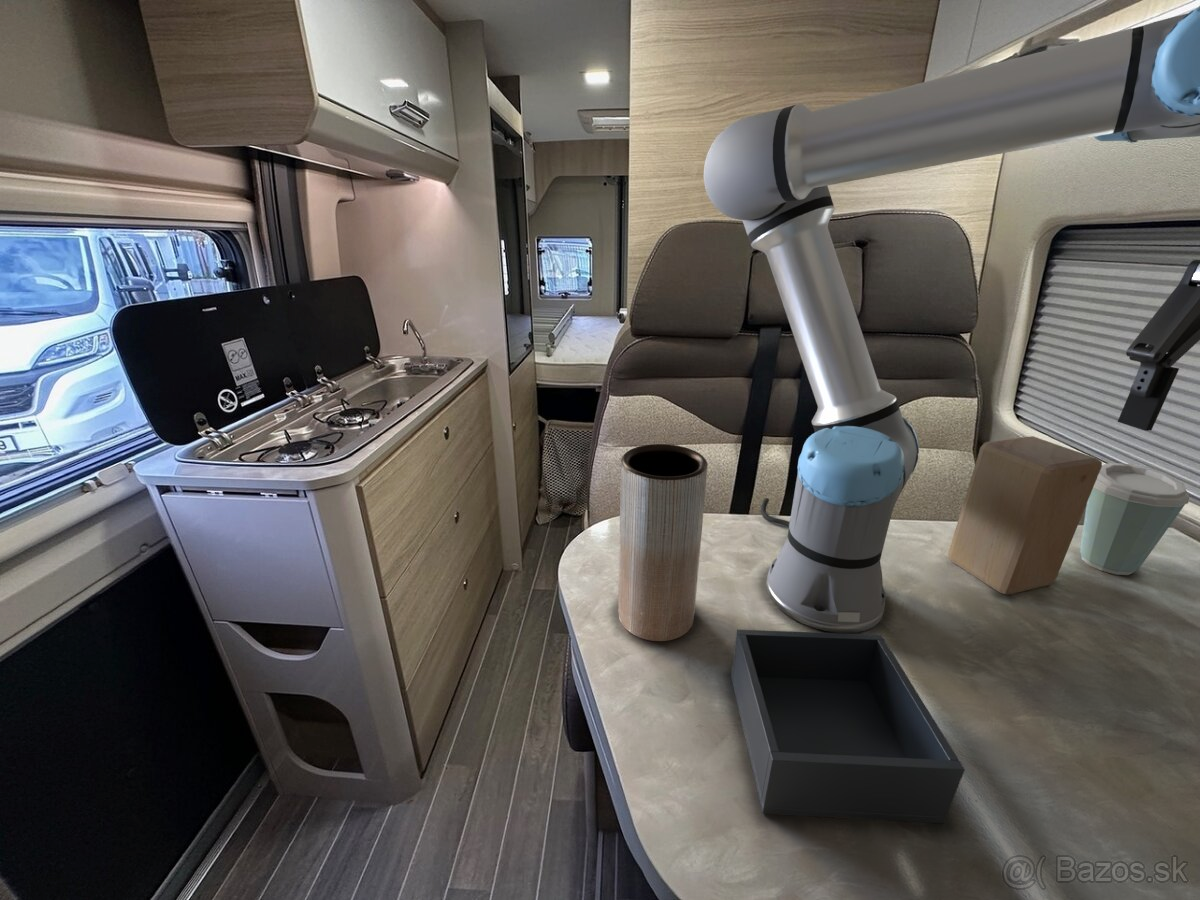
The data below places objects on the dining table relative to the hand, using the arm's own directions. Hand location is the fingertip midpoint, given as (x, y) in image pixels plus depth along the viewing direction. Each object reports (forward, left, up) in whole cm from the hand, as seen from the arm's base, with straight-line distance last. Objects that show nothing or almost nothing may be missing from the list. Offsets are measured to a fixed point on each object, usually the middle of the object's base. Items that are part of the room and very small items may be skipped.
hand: (1183, 422), depth 57 cm
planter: (-19, -52, -29) cm, 62 cm away
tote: (+3, -43, -29) cm, 52 cm away
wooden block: (-13, +1, -29) cm, 31 cm away
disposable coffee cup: (-10, +19, -29) cm, 36 cm away
